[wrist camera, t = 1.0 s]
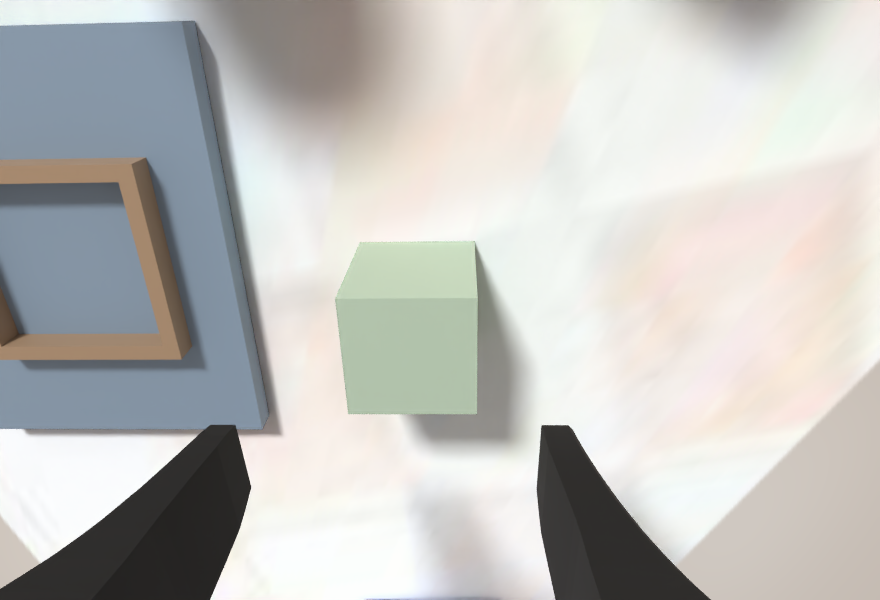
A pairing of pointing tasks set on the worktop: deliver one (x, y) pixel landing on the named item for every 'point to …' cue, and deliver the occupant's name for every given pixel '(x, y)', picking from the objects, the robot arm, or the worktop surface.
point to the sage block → (410, 328)
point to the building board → (117, 236)
